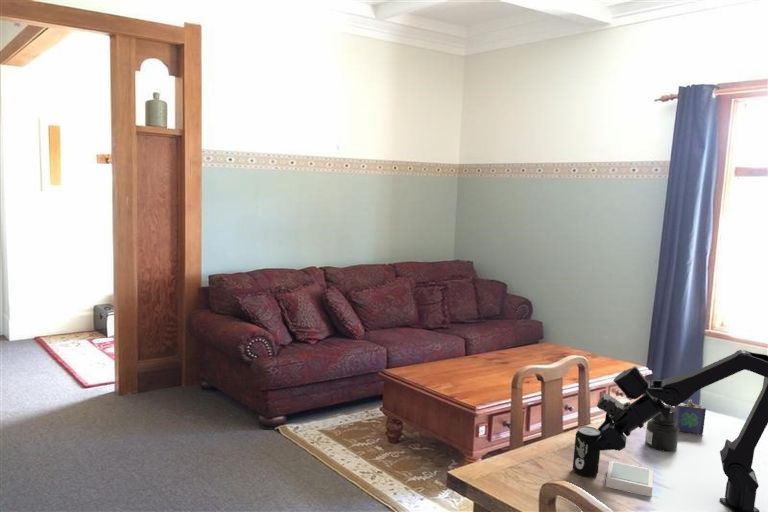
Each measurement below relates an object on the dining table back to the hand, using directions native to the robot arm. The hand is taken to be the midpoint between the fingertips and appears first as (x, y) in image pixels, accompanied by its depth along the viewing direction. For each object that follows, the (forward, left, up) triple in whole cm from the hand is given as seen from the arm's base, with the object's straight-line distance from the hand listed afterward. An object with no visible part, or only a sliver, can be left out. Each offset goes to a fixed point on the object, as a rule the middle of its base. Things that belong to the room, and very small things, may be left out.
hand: (591, 443), depth 171 cm
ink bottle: (+16, -31, -9) cm, 36 cm away
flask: (+26, -46, -9) cm, 54 cm away
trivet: (-5, -9, -8) cm, 13 cm away
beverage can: (0, +1, -9) cm, 9 cm away
